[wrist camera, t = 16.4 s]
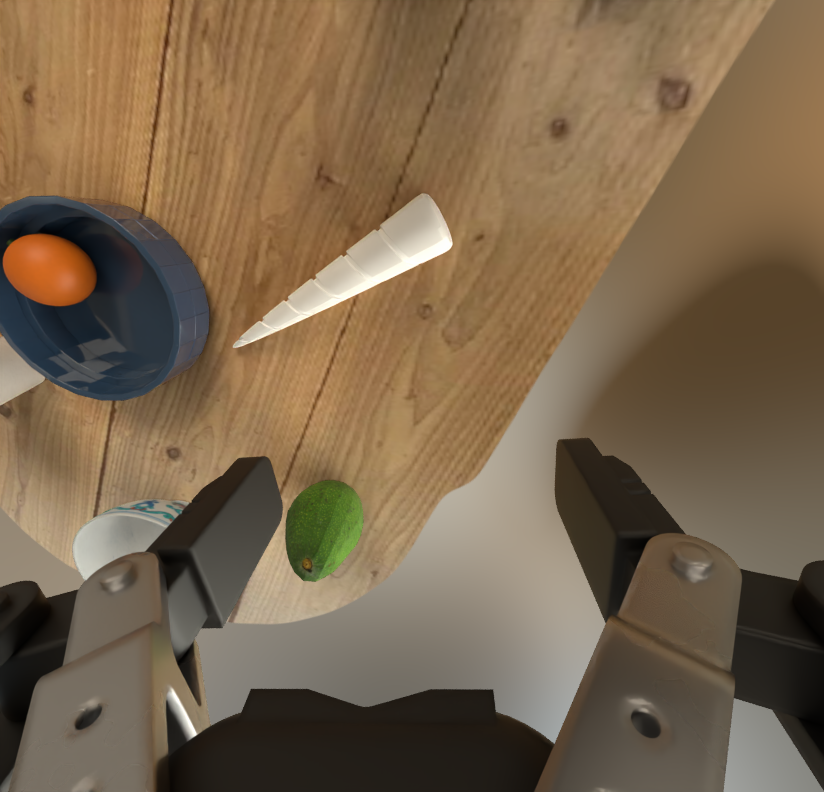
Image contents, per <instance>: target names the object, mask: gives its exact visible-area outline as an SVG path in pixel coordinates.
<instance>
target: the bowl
mask: <svg viewBox="0 0 824 792" xmlns="http://www.w3.org/2000/svg"><path fill="white" fill-rule="evenodd" d="M30 234H50V235H55V236H59V237H62V238H64V239H67V240H69V241H71V242H73V243H74V244H76V245H77V246H79V247H80V248H81V249H82V250H83V251H84V252H85V253H86V254H87V255H88V256H89V257H90V259H91V260H92V262H93V264H94V266H95V269H96V273H97V282H96V286H95V288H94V290H93V292H92V293H91V294H90V295H89V296H88V297H87V298H86V299H84V300H83V301H81V302H79V303H76V304H73V305H69V306H51V305H45V304H42V303H39V302H36V301H34V300H31V299H29V298H27V297H26V296H24V295H23V294H21V293H20V292H19V291H18V290H16V289H15V288H14V287H13V285H12V284H11V283H10V282H9V280H8V278H7V277H6V274H5V272H4V268H3V257H4V253H5V251H6V249H7V248H8V245H7V244H6V243H7V241H8V240H10V239H14V240H17V239H18V238H20V237H23V236H26V235H30ZM0 333H1V334H2V335H3V337H4V338H5V340H6V341H7V343H8V344H9V346H10V347H11V348H12V349H13V350H14V351H15V352H16V353H17V354H18V355H19V356H20V357H21V358H22V359H23V360H24V361H25V362H26V363H27V364H28V365H29V366H31V368H33V369H34V370H36V371H37V372H38V373H40V374H41V375H43V376H44V377H45V378H47V379H48V380H50V381H51V382H52V383H54V384H56V385H58V386H60V387H62V388H64V389H67V390H69V391H71V392H73V393H75V394H78V395H81V396H85V397H90V398H94V399H98V400H118V401H124V400H128V399H131V398H135V397H139V396H142V395H145V394H147V393H149V392H151V391H152V390H154V389H156V388H158V387H160V386H161V385H163V384H165V383H167V382H169V381H170V380H172V379H174V378H176V377H177V376H179V375H180V374H182V373H183V372H185V371H186V370H188V369H189V368H191V366H192V365H193V364H194V363H195V361H196V360H197V359H198V357H199V356H200V355H201V353H202V351H203V348H204V345H205V342H206V339H207V336H208V333H209V306H208V302H207V297H206V293H205V288H204V285H203V283H202V281H201V279H200V277H199V275H198V272H197V270H196V268H195V266H194V264H193V263H192V261H191V259H190V258H189V257H188V255H187V254H186V253H185V252H184V250H183V249H182V248H181V246H180V245H179V244H178V242H177V241H176V240H175V239H174V238H173V237H172V236H171V235H170V234H169V233H167V232H166V231H165V230H164V229H163V228H162V227H161V226H159V225H158V224H157V223H156V222H155V221H153V220H152V219H150V218H148V217H146V216H145V215H143V214H141V213H139V212H137V211H135V210H134V209H132V208H130V207H128V206H124V205H120V204H117V203H113V202H109V201H105V200H97V199H87V198H76V197H65V196H29V197H25V198H23V199H20V200H18V201H15V202H13V203H10V204H8V205H5V206H4V207H3V208H2V209H1V210H0Z"/></svg>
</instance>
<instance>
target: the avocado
mask: <svg viewBox="0 0 824 792" xmlns="http://www.w3.org/2000/svg"><path fill="white" fill-rule="evenodd" d="M363 522H364V521H363V509H362V504H361V501H360V498H359V496H358V495H357V493H356V492H355V491H354V490H353V488H351V487H350V486H348V485H347V484H345V483H343V482H339V481H335V480H325V481H321V482H318V483H316V484H314V485H311V486H309V487H308V488H307V489H305V490H304V491H302V492H301V493H300V494H299V495H298V496H297V498H296V499H295V500H294V502H293V503H292V505H291V507H290V508H289V510H288V513H287V518H286V536H285V539H286V550H287V554H288V558H289V561H290V564H291V566H292V568H293V570H294V572H295V573H296V574H297V575H298V576H299V577H300V578H301V579H302V580H303V581H313V582H316V581H318V580H320V579H322V578H324V577H326V576H327V575H329V574H331V573H332V572H334V571H335V570H336V569H337V567H338V566H339V565H340V564H341V563H342V562H343V560H344V559H345V558H346V557H347V556H348V554H349V553H350V552H351V551H352V549H353V548H354V547H355V546H356V544H357V543H358V540H359V538H360V535H361V531H362V526H363Z"/></svg>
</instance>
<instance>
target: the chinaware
mask: <svg viewBox="0 0 824 792" xmlns="http://www.w3.org/2000/svg"><path fill="white" fill-rule="evenodd" d="M188 504H189V502H186V501H181V500H172V501H170V500H164V499H145V500H138V501H133V502H129V503H126V504H123V505H120V506H117V507H114V508H112V509H110V510H108V511H106V512H103V513H102V514H100V515H98V516H96V517H94V518H93V519H91V520H89V521H88V522H86V523H85V524H84V525H83V526H82V527H81V528H80V529H79V530H78V532H77V533H76V535H75V537H74V540H73V546H72V553H73V559H74V562H75V565H76V567H77V569H78V571H79V573H80V574H81V576H82V577H83V579H84V580H85V581H86V580H87V579H88V578H89V577H90V576H91V575H92V574H93V573H94V572H96V571H97V570H98V569H100V568H101V567H103V566H104V565H106V564H107V563H109V562H111V561H113V560H115V559H117V558H119V557H122V556H125V555H127V554H131V553H135V552H145V551H146V550H147V549H148V548H149V546H150V545H151V544H152V543H153V542H154V541H155V540H156V539H157V538H158V537H159V536H160V534H161V533H162V532H163V531H164V530H165V529H166V528H167V527H168V526H169V525H170V524H171V523H172V521H173V520H174V519H175V518H176V517H177V516H178V515H179V514H182V511H183V509H184V508H185V507H186V506H187V505H188Z"/></svg>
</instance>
